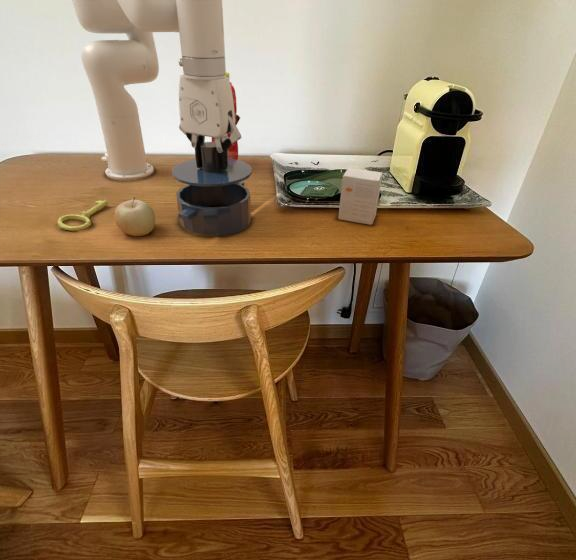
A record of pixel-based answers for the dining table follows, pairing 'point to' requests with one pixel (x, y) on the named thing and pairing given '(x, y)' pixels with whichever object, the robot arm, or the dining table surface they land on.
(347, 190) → the small box
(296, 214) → the dining table surface
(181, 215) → the pot
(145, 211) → the fruit
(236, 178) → the lid
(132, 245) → the dining table surface
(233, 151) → the water bottle
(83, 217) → the key
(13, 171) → the dining table surface
